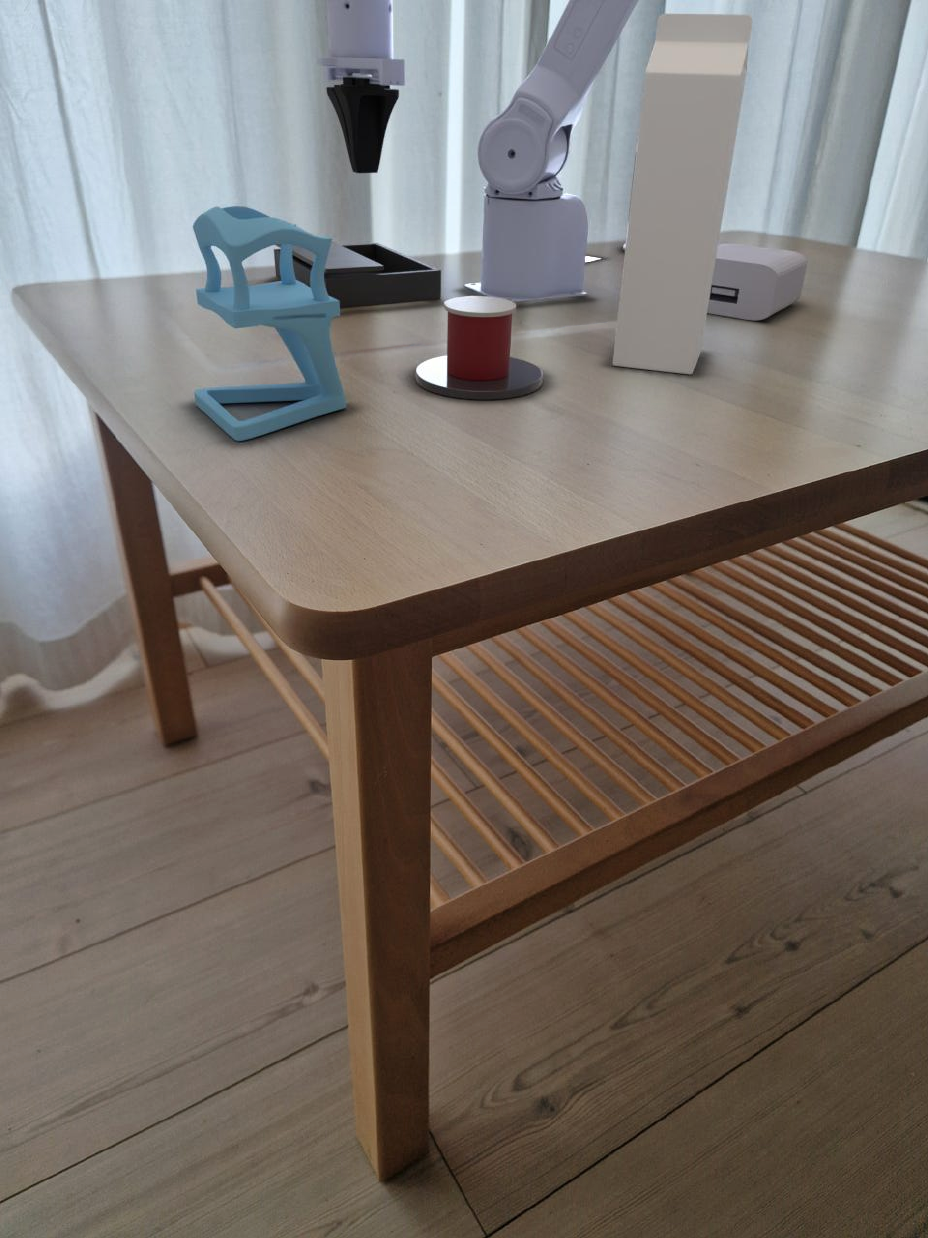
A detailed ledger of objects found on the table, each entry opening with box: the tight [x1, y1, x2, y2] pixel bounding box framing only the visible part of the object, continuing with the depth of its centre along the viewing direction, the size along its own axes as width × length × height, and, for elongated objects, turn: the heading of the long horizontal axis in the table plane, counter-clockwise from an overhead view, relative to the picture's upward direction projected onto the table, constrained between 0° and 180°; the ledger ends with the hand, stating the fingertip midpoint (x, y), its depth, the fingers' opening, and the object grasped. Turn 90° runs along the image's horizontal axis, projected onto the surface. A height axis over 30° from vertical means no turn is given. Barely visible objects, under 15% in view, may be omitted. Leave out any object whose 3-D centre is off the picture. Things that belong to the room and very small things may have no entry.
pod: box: [443, 295, 517, 381], centre depth 61 cm, size 5×5×5 cm
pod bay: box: [273, 242, 442, 310], centre depth 85 cm, size 11×15×3 cm
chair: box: [192, 205, 347, 442], centre depth 53 cm, size 8×8×12 cm
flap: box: [275, 241, 384, 274], centre depth 83 cm, size 5×15×1 cm, turn 27°
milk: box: [612, 13, 753, 375], centre depth 63 cm, size 6×6×22 cm
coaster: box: [415, 354, 544, 401], centre depth 63 cm, size 9×9×1 cm
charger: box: [707, 242, 809, 321], centre depth 85 cm, size 5×9×15 cm
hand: (365, 172), depth 84 cm, fingers closed
